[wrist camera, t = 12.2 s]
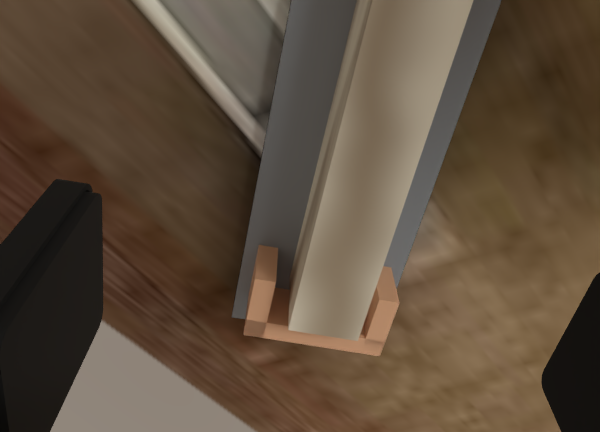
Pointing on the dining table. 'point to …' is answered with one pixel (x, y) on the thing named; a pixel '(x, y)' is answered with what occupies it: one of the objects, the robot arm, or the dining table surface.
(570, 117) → the dining table surface
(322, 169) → the slat
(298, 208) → the board
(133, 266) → the dining table surface
